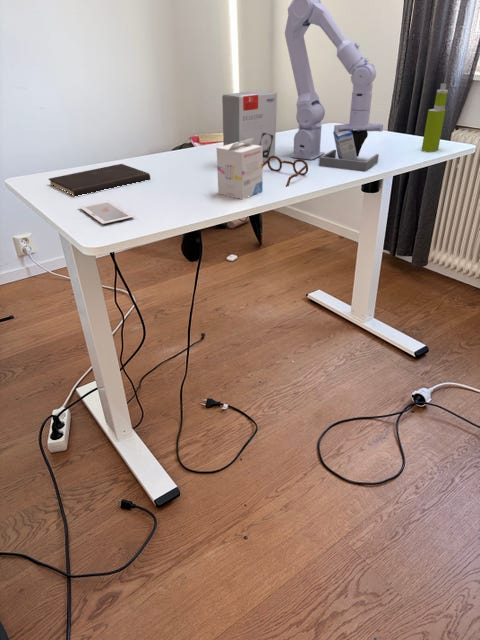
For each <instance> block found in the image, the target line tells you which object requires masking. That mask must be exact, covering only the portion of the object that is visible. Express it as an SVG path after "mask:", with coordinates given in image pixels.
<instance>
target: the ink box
mask: <svg viewBox="0 0 480 640" xmlns="http://www.w3.org/2000/svg"><path fill="white" fill-rule="evenodd" d="M253 139H254V138H250V139H247V140H244V141H240V142H236V143H232V144H228V145H225V146H223V145H222V146H218V147H216V163H217V166H216V168H217V193H218V194H219V193H220V195H222V194H224V195H223V196H226V195H228V196H227V197H230V196H233V197H232V198H234V197H237V198H236V199H238V198H241V199H240V200H244V199H243V198H245V199H247V198H246V197H248V196H250V197H252V196H254V195H253V194H255V195H257V194H259V193H262V192H263V190H264V189H263V181H264V180H263V167H264V166H263V163H264V162H263V146H259V145H252V144H250V143H251V141H252V140H253ZM243 142H245V143H243ZM261 191H262V192H261ZM258 192H259V193H258ZM256 193H257V194H256ZM251 195H252V196H251ZM248 198H249V197H248Z"/></svg>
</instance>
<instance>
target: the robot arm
mask: <svg viewBox="0 0 480 640" xmlns="http://www.w3.org/2000/svg"><path fill="white" fill-rule="evenodd" d="M290 2H291V3H290V4H289V6H288V7H287V21H286V25H285V29H284V38H285V41H286V45H287V51H288V54H289V61H290V65H291V68H292V69H291V70H292V73H293V79H294V82H295V87H296V93H297V96H298V97H297V101H296V116H295V117H296V121H297V123H298V130H297V132H296V133H295V135H294V137H293V153H292V155H290V158H292V159H293V158H294V159H301V160H310V161H314V160H315V159H317V158H320V157H321V156H323V155H325V152H324V151H321V139H322V126H323V125H322V120H323V119H325V115H326V111H325V110H326V109H325V107H324V105H323V104H322V103H321V100H320V96H319V95H318V94H317V92H316V91H315V89H316V88H315V85H314V80H313V75H312V70H311V66H310V62H309V60H310V59H309V56H308V50H307V45H306V41H305V34H306V32H307V30H308V29H309V28H310V26H311V25H315V26H317V27H319V28H320V29H321V30H322V31H323V33H325V35H326V36H327V37H328V39H329V40H330V41H331V43H332V44H333V45H334V46H335V48H336V57H337V58H338V60H339V61H340V63H341V64H342V66H343V68H344V69H346V71H347V73H348V74H349V75H351V76H350V81H351V84H352V92H351V102H350V103H351V104H350V112H349V123H345V124H334V127H333V132H335V133H339V132H340V131H343V130H347V129H348V130H350V131H351V132H352V134H353V139H354V145H355V150H356V155H357V158H358V157H359V155H360V152H361V148H362V147H363V145H364V143H365V141H366V139H367V138H368V136H369V132H383V130H384V124H382V123H369V122H370V114H371V104H372V97H373V96H372V95H373V85H374V84H373V82H374V81H375V79H376V76H377V70H376V68H375V65H374V64H373V63H371V62H369V61H370V60H369V58H366V57H365V56H364V54H363V53H362V51H361V50H360V44H359V43H358V42H354V40H348V39H347V38H346V37H345V35H344V33H343V32H342V31H341V29H340V27H339V26H338V24H337V22H336V20H335V19H334V18H333V16H332V15H331V13H330V11H329V10H328V8H327V6H326V5H325V4H324V3H322V1H321V0H292V1H290Z"/></svg>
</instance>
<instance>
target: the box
mask: <svg viewBox="0 0 480 640" xmlns="http://www.w3.org/2000/svg"><path fill="white" fill-rule="evenodd" d="M336 154H337V149H333V150H330V151H328V152H327V153H324V154H323V155H321V156H319V160H318V161H319V163H318V166H320V167H321V166H322V167H328V168H335V169H343V170H349V171H350V170H352V171H359V172H367V171H368V170H370V169H371V168H372V167H374V166H375V165H377V164H378V162H379V156H380V154H378V153H376V154H374V155H373V156H371V157H369V159H367V160H366V161H363V160H362V161H361V160H355V161H354V160H345V159H339V158H338V157H337V158H336V156H337V155H336Z"/></svg>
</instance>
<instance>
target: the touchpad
mask: <svg viewBox="0 0 480 640" xmlns="http://www.w3.org/2000/svg"><path fill="white" fill-rule="evenodd" d="M78 207H79V209H81V210H82V211H84V212H86V213H87V214H88V215H90V216H91V217H93V218H94V219H95V220H97V221H98V222H99V223H101V224H102V225H103V224H109V223H113V222H118V221H122V220H127V219H130V218H134V217H136V216H135V215H134V214H132V213H131V212H129V211H128V210H125V209H124V208H123V207H121V206H119V205H118V204H116V203H114V202H113V201H111V200H110V199H108V200H104V201H103V200H102V201H98V202H94V203H89V204H84V205H79V206H78Z"/></svg>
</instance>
